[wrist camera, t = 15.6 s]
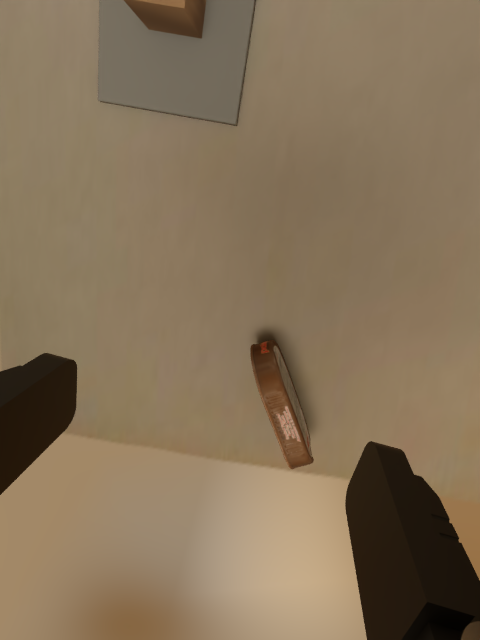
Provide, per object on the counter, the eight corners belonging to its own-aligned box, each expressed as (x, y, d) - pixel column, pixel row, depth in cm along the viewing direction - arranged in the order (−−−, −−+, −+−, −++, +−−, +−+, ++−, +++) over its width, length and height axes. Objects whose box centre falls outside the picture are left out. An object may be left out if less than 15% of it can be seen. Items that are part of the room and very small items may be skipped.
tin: (252, 333, 39) (242, 367, 31) (277, 326, 38) (273, 358, 30) (290, 435, 43) (290, 487, 35) (314, 430, 42) (319, 483, 35)
